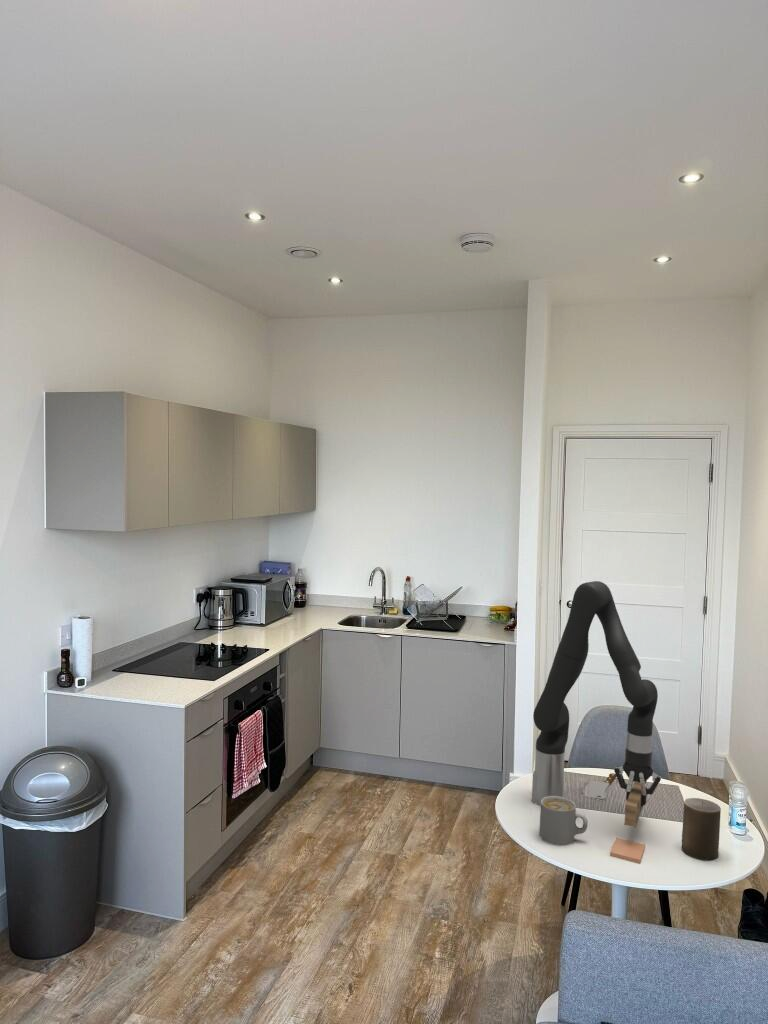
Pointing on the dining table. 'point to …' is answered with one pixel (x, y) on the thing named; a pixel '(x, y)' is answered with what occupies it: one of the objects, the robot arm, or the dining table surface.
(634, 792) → the curved tan slat
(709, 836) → the pillar candle
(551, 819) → the coffee mug
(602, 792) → the kitchen cleaver
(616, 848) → the tile
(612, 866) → the dining table surface
